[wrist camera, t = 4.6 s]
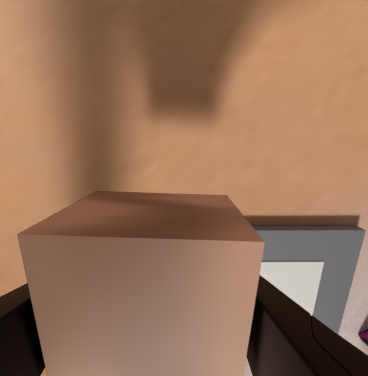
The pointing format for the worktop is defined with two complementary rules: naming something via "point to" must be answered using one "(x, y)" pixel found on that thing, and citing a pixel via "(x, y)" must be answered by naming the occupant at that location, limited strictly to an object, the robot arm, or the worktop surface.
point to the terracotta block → (143, 285)
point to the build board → (312, 266)
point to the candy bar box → (364, 338)
